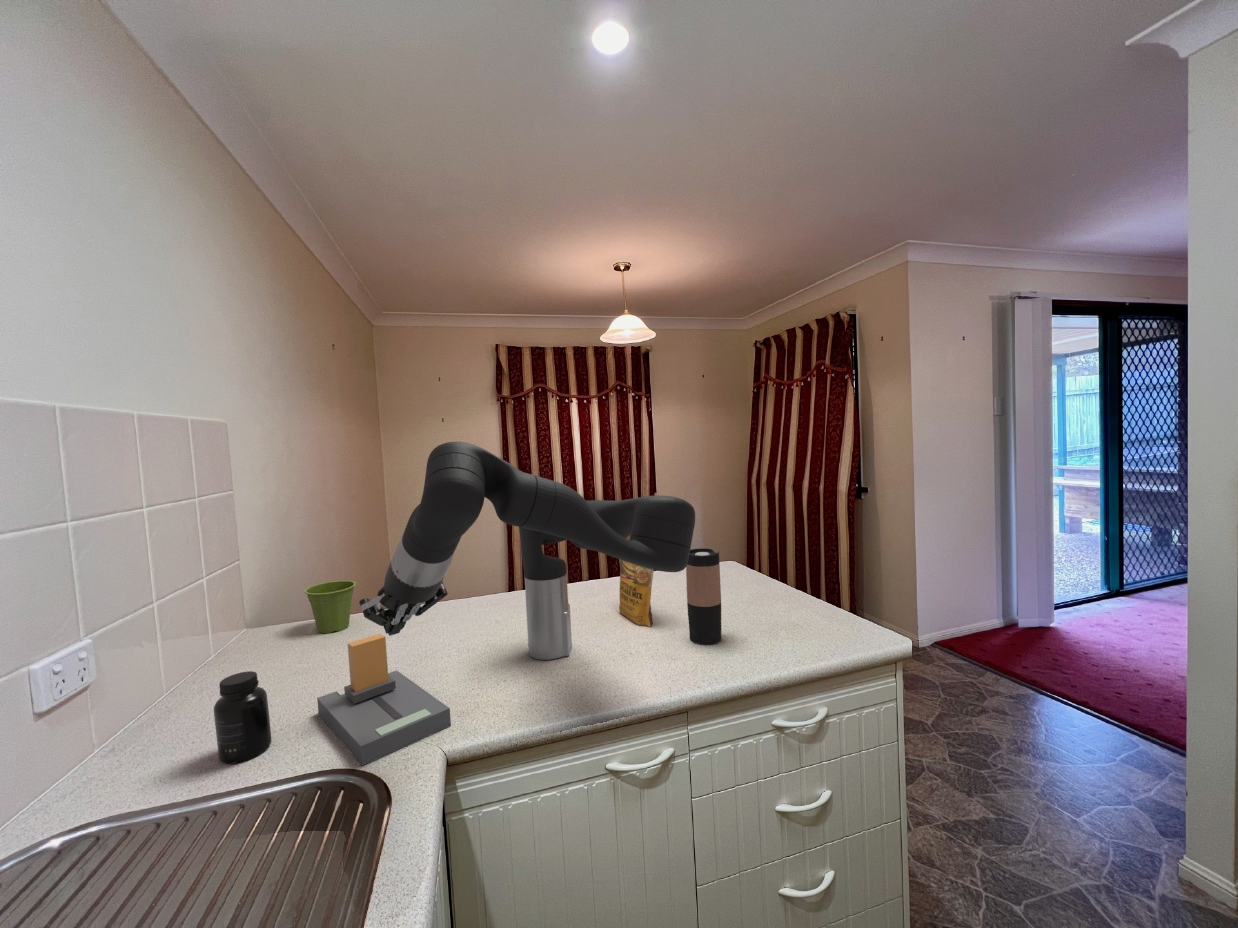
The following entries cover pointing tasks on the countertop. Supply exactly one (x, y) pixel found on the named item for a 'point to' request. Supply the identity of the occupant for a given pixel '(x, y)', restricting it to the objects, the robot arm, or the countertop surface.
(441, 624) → the countertop surface
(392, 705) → the switch console
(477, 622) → the countertop surface
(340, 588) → the plant pot
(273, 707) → the countertop surface
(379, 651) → the handle
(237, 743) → the supplement bottle
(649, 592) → the pancake mix bag
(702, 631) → the travel mug
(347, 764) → the countertop surface
